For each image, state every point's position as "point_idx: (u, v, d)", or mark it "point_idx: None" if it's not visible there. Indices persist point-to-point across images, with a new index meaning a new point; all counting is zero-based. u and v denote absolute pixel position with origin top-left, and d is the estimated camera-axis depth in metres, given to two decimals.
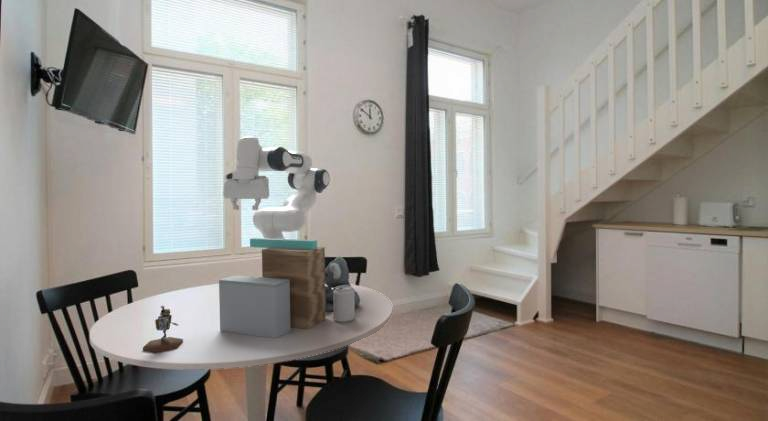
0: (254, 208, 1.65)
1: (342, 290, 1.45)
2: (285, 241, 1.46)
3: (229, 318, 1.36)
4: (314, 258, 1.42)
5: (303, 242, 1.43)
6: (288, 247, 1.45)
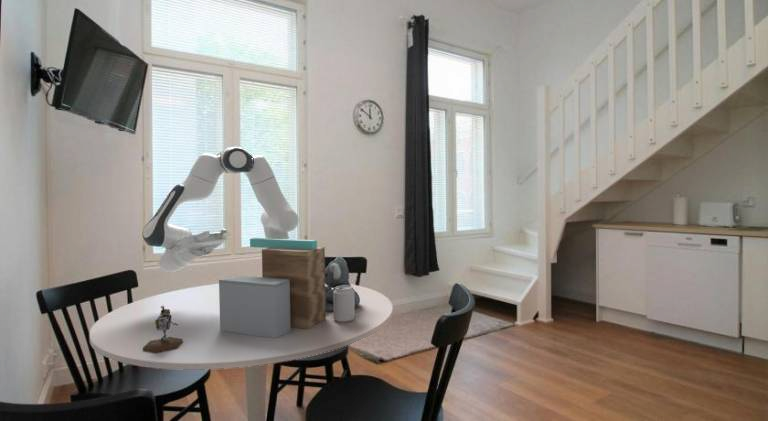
0: (207, 235, 1.53)
1: (342, 290, 1.45)
2: (285, 241, 1.46)
3: (229, 318, 1.36)
4: (314, 258, 1.42)
5: (303, 242, 1.43)
6: (288, 247, 1.45)
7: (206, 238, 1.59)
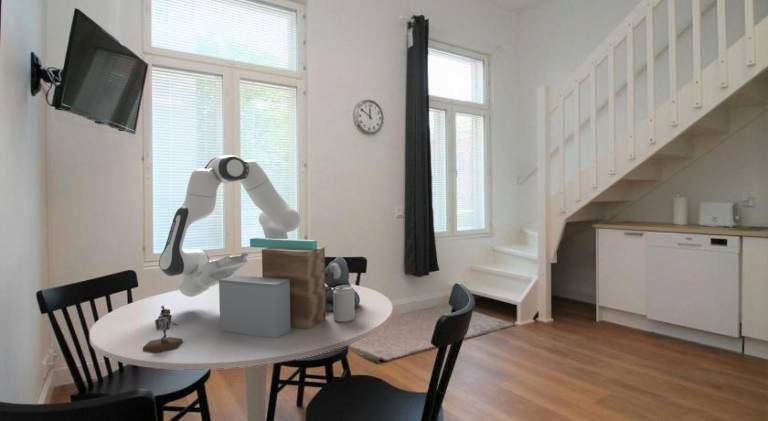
0: (228, 260, 1.50)
1: (342, 290, 1.45)
2: (285, 241, 1.46)
3: (229, 318, 1.36)
4: (314, 258, 1.42)
5: (303, 242, 1.43)
6: (288, 247, 1.45)
7: (227, 262, 1.56)
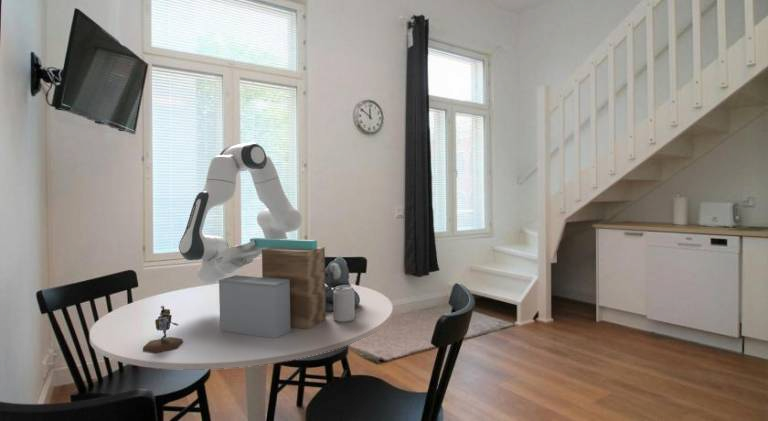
0: (254, 245, 1.49)
1: (342, 290, 1.45)
2: (285, 241, 1.46)
3: (229, 318, 1.36)
4: (314, 258, 1.42)
5: (303, 242, 1.43)
6: (288, 247, 1.45)
7: (247, 248, 1.53)
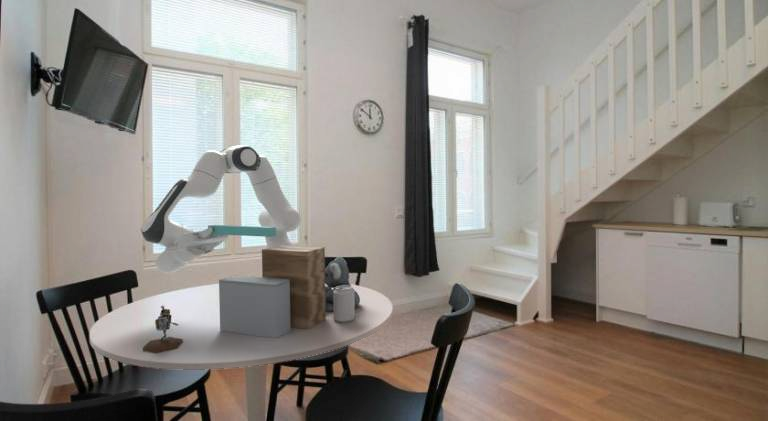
0: (211, 231, 1.43)
1: (342, 290, 1.45)
2: (243, 228, 1.40)
3: (229, 318, 1.36)
4: (314, 258, 1.42)
5: (261, 229, 1.37)
6: (246, 234, 1.39)
7: (206, 235, 1.47)
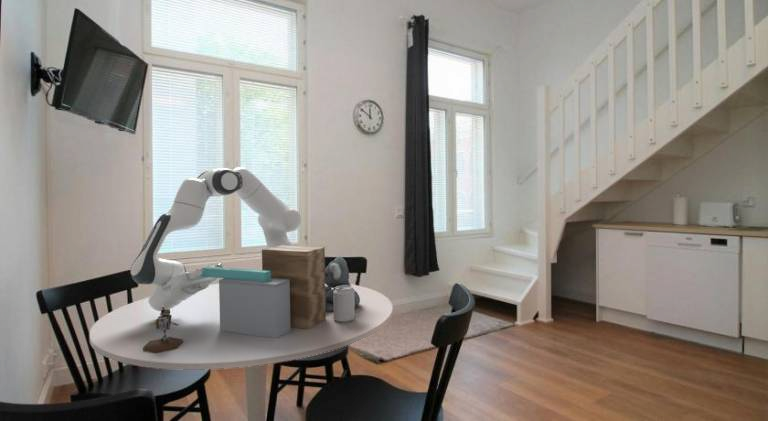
0: (200, 273, 1.38)
1: (342, 290, 1.45)
2: (237, 271, 1.37)
3: (229, 318, 1.36)
4: (314, 258, 1.42)
5: (255, 273, 1.35)
6: (240, 278, 1.37)
7: (200, 275, 1.44)
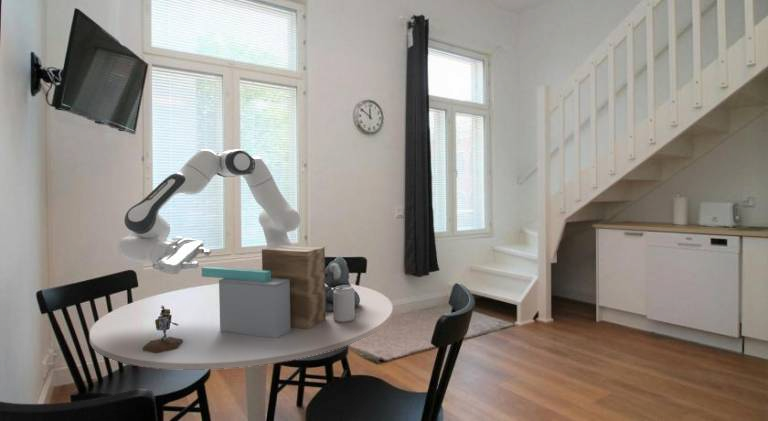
0: None
1: (342, 290, 1.45)
2: (237, 271, 1.37)
3: (229, 318, 1.36)
4: (314, 258, 1.42)
5: (255, 273, 1.35)
6: (240, 278, 1.37)
7: (188, 257, 1.49)
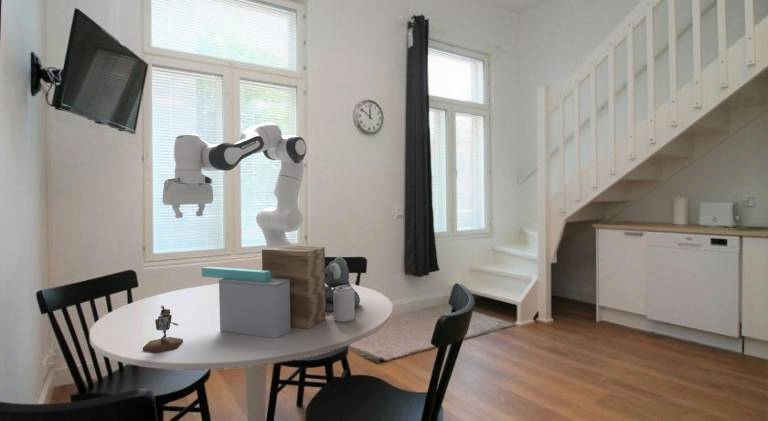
0: None
1: (342, 290, 1.45)
2: (237, 271, 1.37)
3: (229, 318, 1.36)
4: (314, 258, 1.42)
5: (255, 273, 1.35)
6: (240, 278, 1.37)
7: None
